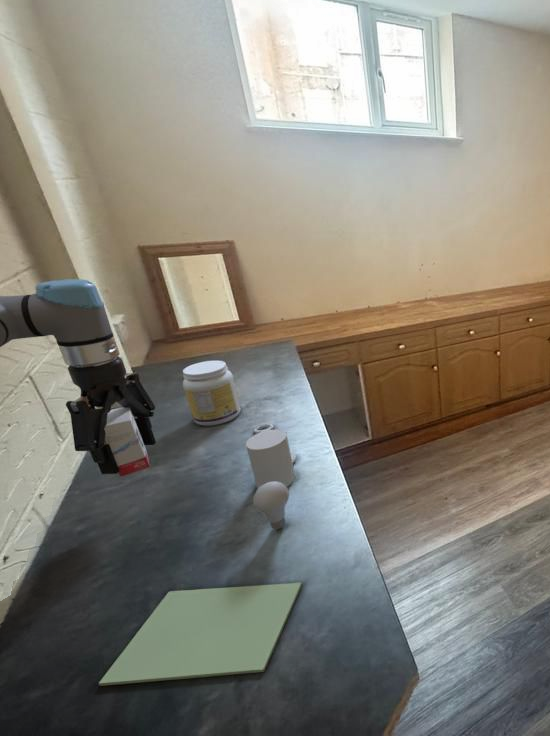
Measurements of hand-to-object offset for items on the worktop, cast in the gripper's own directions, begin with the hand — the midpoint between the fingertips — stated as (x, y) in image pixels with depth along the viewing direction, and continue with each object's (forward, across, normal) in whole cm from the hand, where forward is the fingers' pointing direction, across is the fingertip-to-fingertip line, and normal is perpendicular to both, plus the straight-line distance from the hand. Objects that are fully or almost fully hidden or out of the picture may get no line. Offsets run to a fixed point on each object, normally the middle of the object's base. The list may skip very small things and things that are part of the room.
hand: (130, 457), depth 84 cm
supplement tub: (+12, +37, +6) cm, 39 cm away
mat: (+12, -31, -31) cm, 45 cm away
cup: (+12, +5, -25) cm, 28 cm away
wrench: (+12, +20, -18) cm, 30 cm away
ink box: (+2, 0, 0) cm, 2 cm away
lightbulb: (+12, -10, -32) cm, 36 cm away
